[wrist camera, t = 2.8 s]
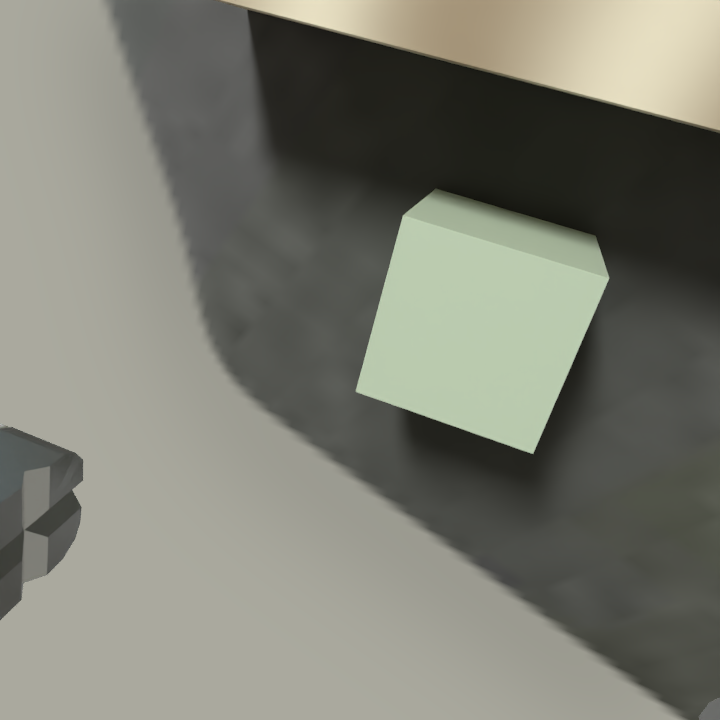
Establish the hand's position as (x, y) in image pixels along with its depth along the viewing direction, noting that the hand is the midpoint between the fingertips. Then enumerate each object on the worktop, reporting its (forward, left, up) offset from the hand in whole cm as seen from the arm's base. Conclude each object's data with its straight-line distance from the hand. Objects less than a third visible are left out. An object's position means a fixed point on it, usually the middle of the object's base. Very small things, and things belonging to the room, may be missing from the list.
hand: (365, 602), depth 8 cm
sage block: (0, 0, -14) cm, 14 cm away
